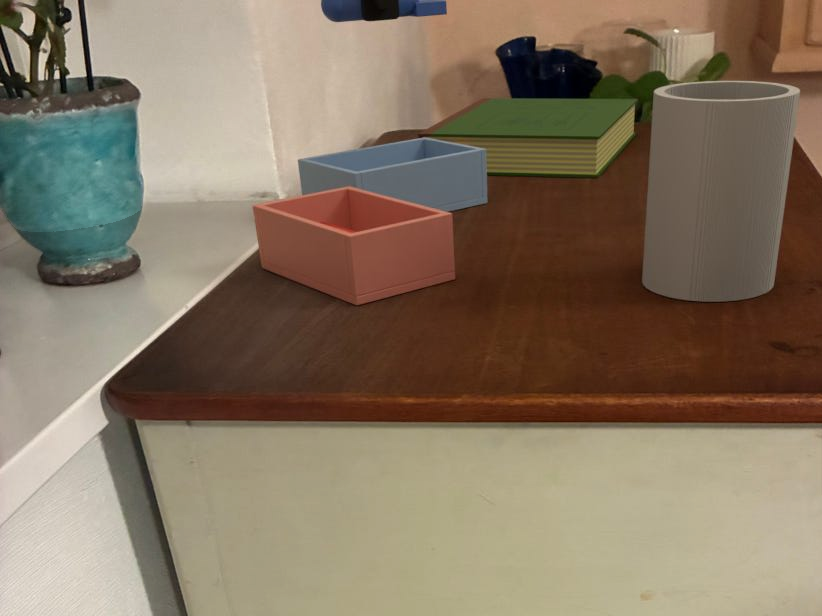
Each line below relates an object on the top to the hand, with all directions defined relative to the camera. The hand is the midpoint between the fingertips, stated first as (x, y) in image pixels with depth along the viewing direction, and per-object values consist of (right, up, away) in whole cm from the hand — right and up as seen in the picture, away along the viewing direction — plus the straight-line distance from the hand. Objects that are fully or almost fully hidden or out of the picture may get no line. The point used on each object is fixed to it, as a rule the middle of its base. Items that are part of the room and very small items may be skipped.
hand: (371, 16), depth 84 cm
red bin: (0, -24, -8) cm, 25 cm away
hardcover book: (+15, +2, +29) cm, 33 cm away
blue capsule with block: (+1, 0, +1) cm, 1 cm away
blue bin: (+1, -12, +9) cm, 15 cm away
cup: (+25, -26, -12) cm, 38 cm away
